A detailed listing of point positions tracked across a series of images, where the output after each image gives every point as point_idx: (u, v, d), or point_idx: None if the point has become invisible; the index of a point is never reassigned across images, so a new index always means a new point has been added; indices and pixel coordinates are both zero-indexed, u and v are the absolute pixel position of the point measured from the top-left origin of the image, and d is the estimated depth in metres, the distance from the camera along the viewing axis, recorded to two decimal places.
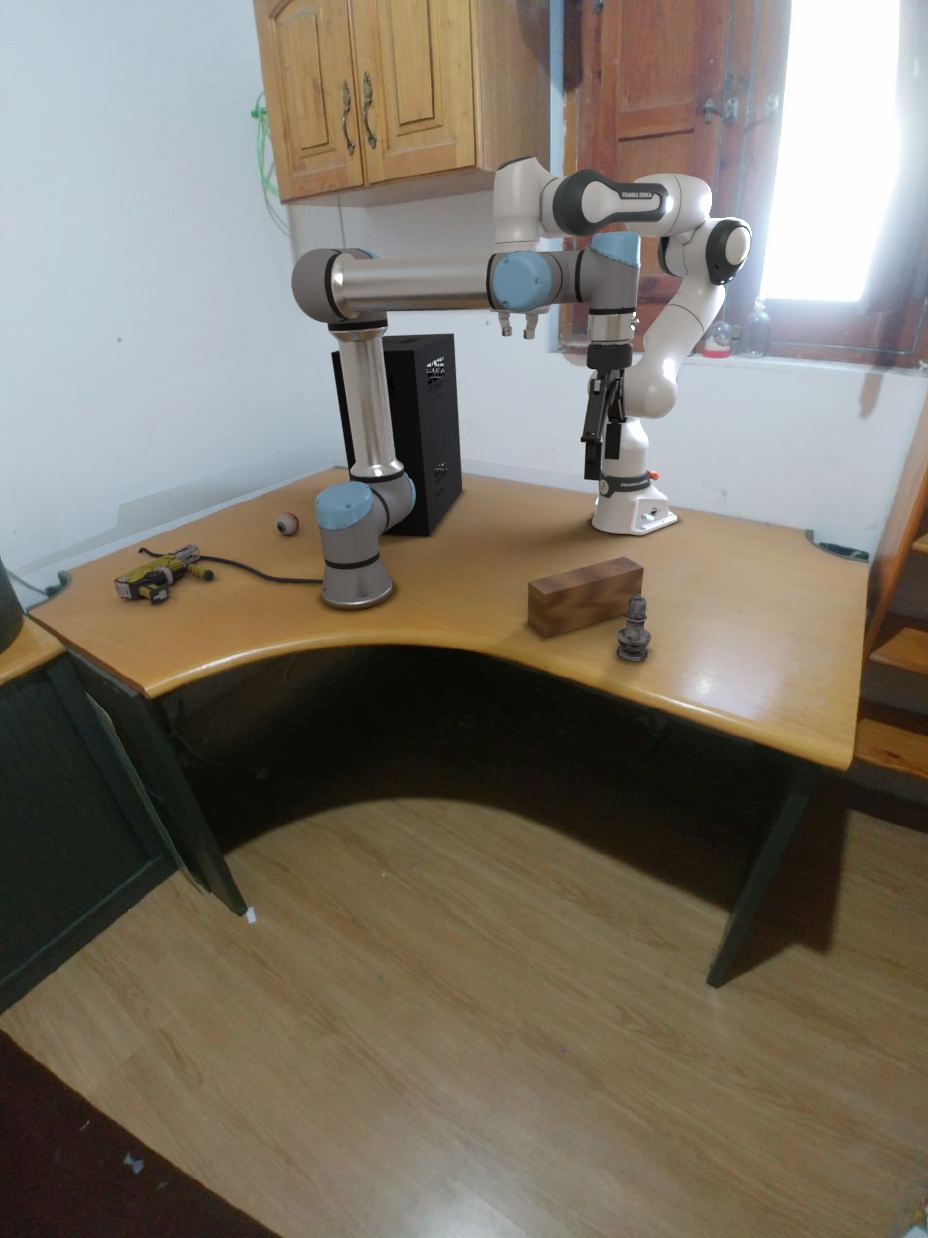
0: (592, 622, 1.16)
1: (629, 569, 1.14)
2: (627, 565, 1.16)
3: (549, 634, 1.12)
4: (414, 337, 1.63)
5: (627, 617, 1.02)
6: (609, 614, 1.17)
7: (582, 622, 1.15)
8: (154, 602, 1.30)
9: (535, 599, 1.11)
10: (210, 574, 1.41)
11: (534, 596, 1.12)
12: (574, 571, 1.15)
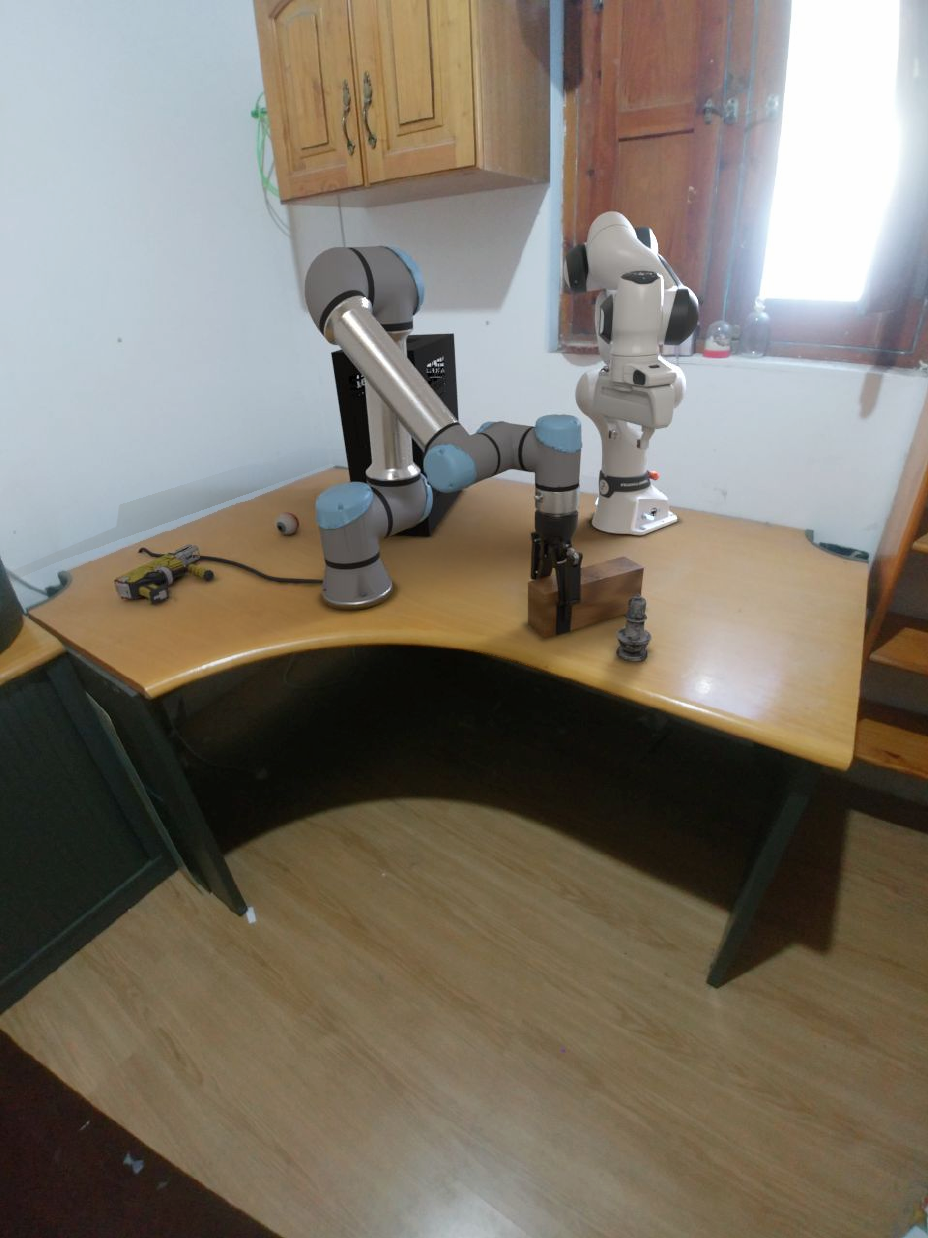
0: (592, 622, 1.16)
1: (629, 569, 1.14)
2: (627, 565, 1.16)
3: (549, 634, 1.12)
4: (414, 337, 1.63)
5: (627, 617, 1.02)
6: (609, 614, 1.17)
7: (582, 622, 1.15)
8: (154, 602, 1.30)
9: (535, 599, 1.11)
10: (210, 574, 1.41)
11: (534, 596, 1.12)
12: None
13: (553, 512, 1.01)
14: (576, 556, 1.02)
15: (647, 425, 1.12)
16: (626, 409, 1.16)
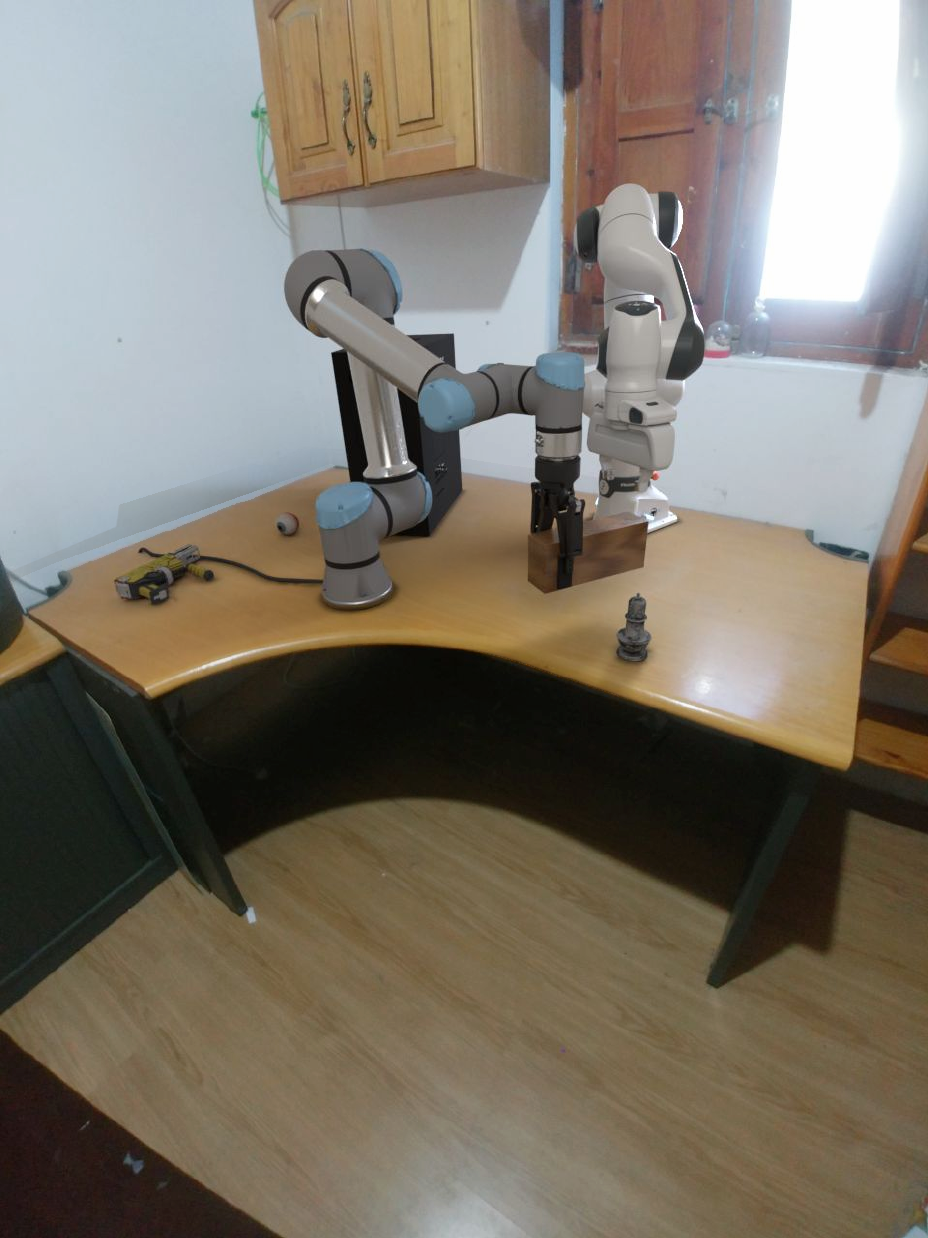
0: (594, 578, 1.11)
1: (634, 523, 1.10)
2: (631, 519, 1.11)
3: (550, 589, 1.08)
4: (414, 337, 1.63)
5: (627, 617, 1.02)
6: (613, 570, 1.12)
7: (584, 578, 1.10)
8: (154, 602, 1.30)
9: (535, 552, 1.07)
10: (210, 574, 1.41)
11: (534, 549, 1.07)
12: None
13: (554, 456, 0.96)
14: (578, 503, 0.97)
15: (645, 467, 1.02)
16: (622, 449, 1.06)
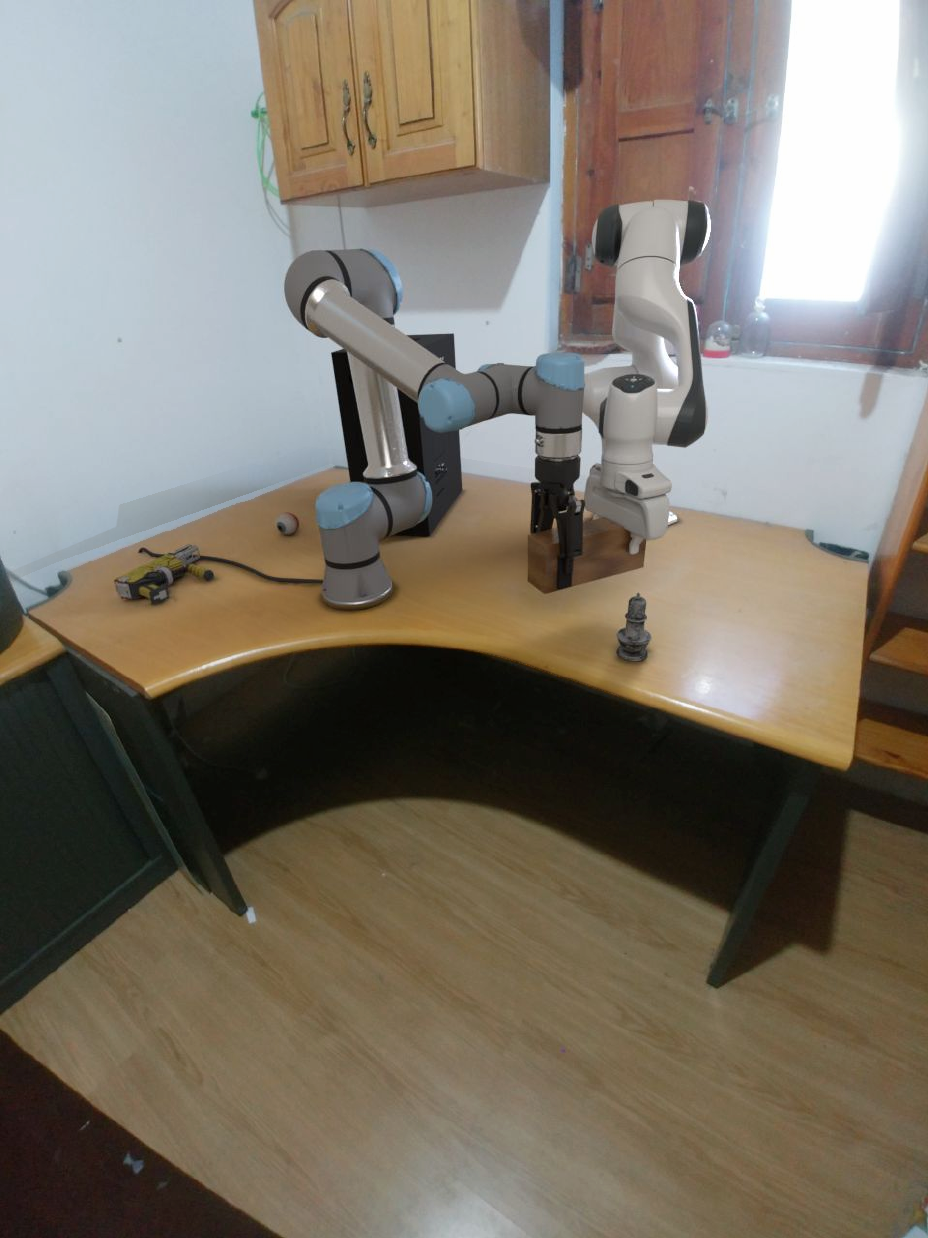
0: (594, 578, 1.11)
1: None
2: None
3: (549, 589, 1.08)
4: (414, 337, 1.63)
5: (627, 617, 1.02)
6: (612, 570, 1.12)
7: (584, 578, 1.10)
8: (154, 602, 1.30)
9: (535, 552, 1.07)
10: (210, 574, 1.41)
11: (534, 550, 1.07)
12: None
13: (554, 456, 0.96)
14: (578, 503, 0.97)
15: (640, 535, 1.05)
16: (618, 514, 1.09)
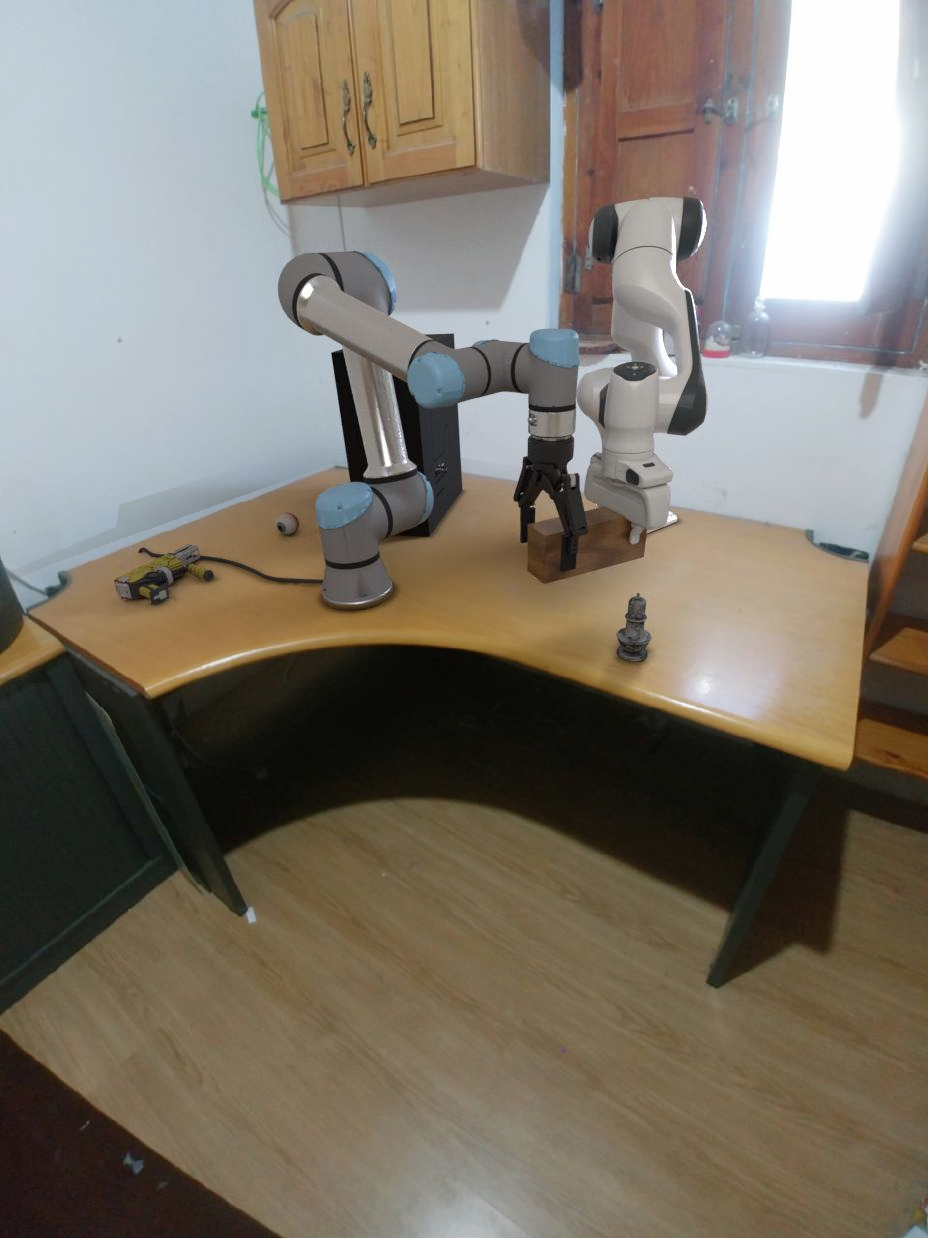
0: (594, 568, 1.11)
1: None
2: None
3: (549, 579, 1.07)
4: None
5: (627, 617, 1.02)
6: (613, 560, 1.12)
7: (584, 568, 1.09)
8: (154, 602, 1.30)
9: (535, 542, 1.06)
10: (210, 574, 1.41)
11: (533, 539, 1.06)
12: None
13: (547, 435, 0.94)
14: (571, 475, 0.95)
15: (641, 525, 1.04)
16: (619, 504, 1.08)
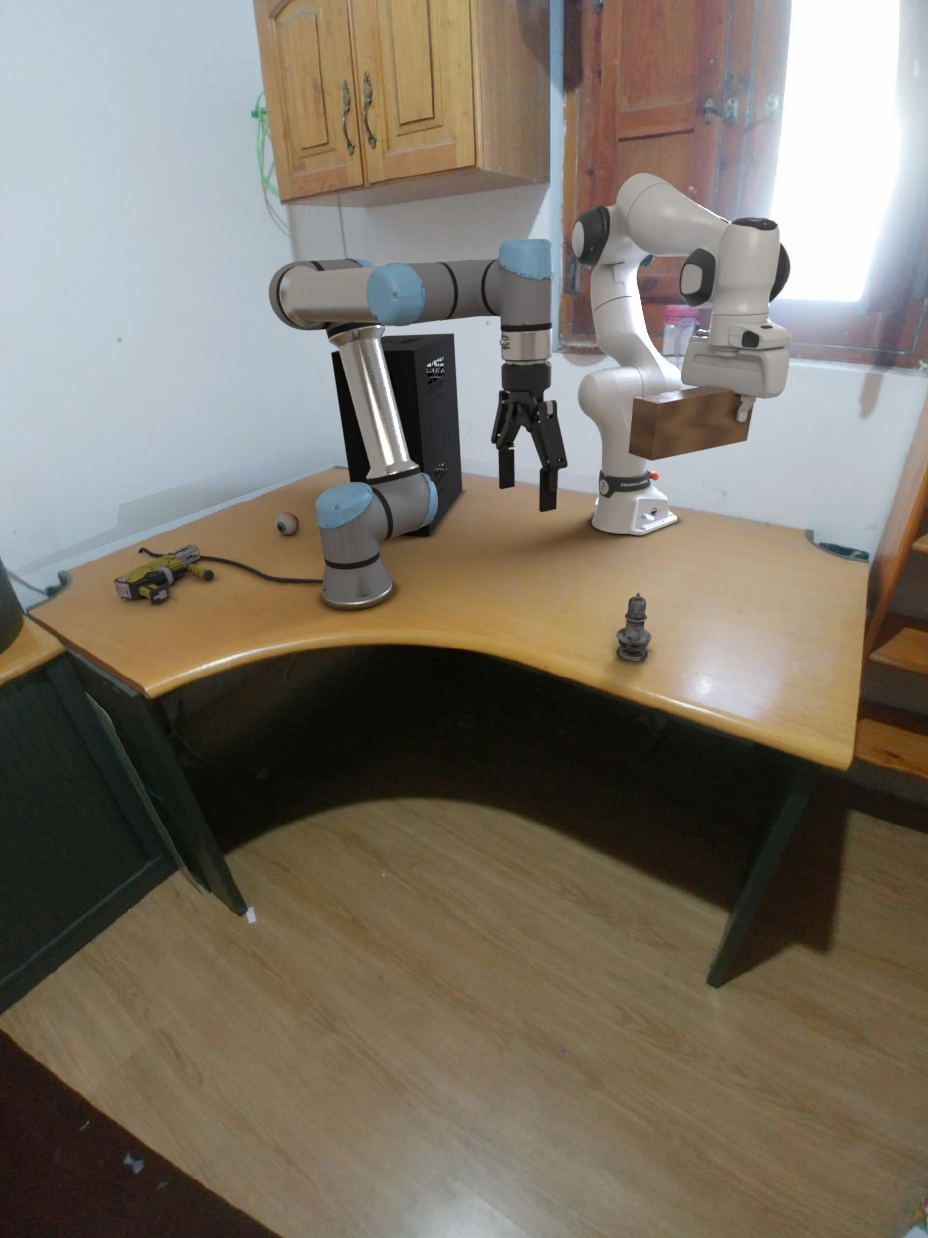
0: (700, 448, 1.05)
1: None
2: None
3: (657, 456, 1.02)
4: (414, 337, 1.63)
5: (627, 617, 1.02)
6: (718, 441, 1.06)
7: (690, 446, 1.04)
8: (154, 602, 1.30)
9: (643, 414, 1.00)
10: (210, 574, 1.41)
11: (641, 413, 1.01)
12: (681, 390, 1.04)
13: (521, 358, 0.86)
14: (548, 401, 0.87)
15: (755, 394, 0.99)
16: (727, 378, 1.03)
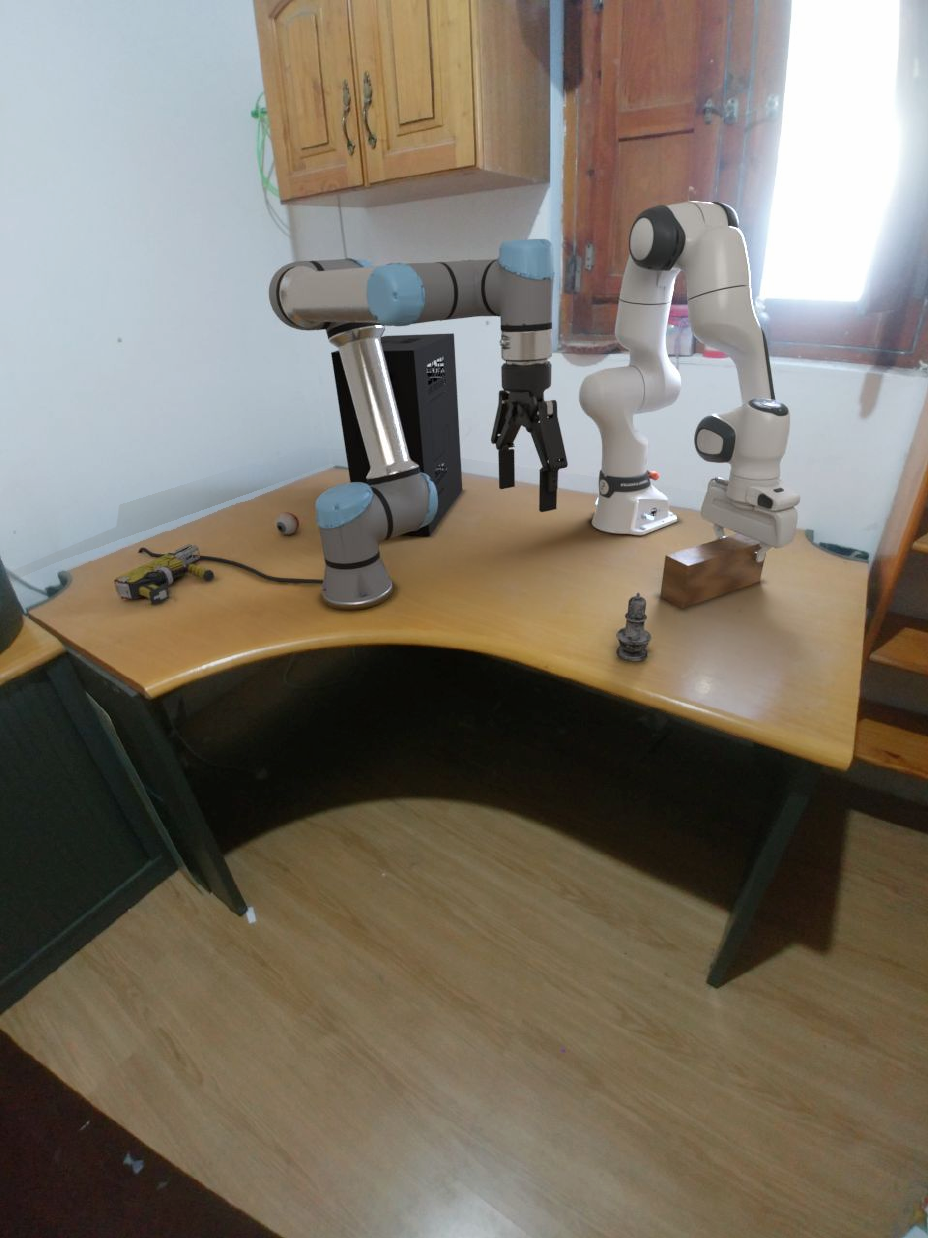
0: (721, 593, 1.23)
1: (756, 542, 1.22)
2: (752, 539, 1.24)
3: (686, 604, 1.19)
4: (414, 337, 1.63)
5: (627, 617, 1.02)
6: (736, 585, 1.24)
7: (713, 593, 1.22)
8: (154, 602, 1.30)
9: (674, 571, 1.18)
10: (210, 574, 1.41)
11: (672, 569, 1.19)
12: (704, 545, 1.22)
13: (521, 358, 0.86)
14: (548, 401, 0.87)
15: (769, 543, 1.16)
16: (743, 524, 1.20)
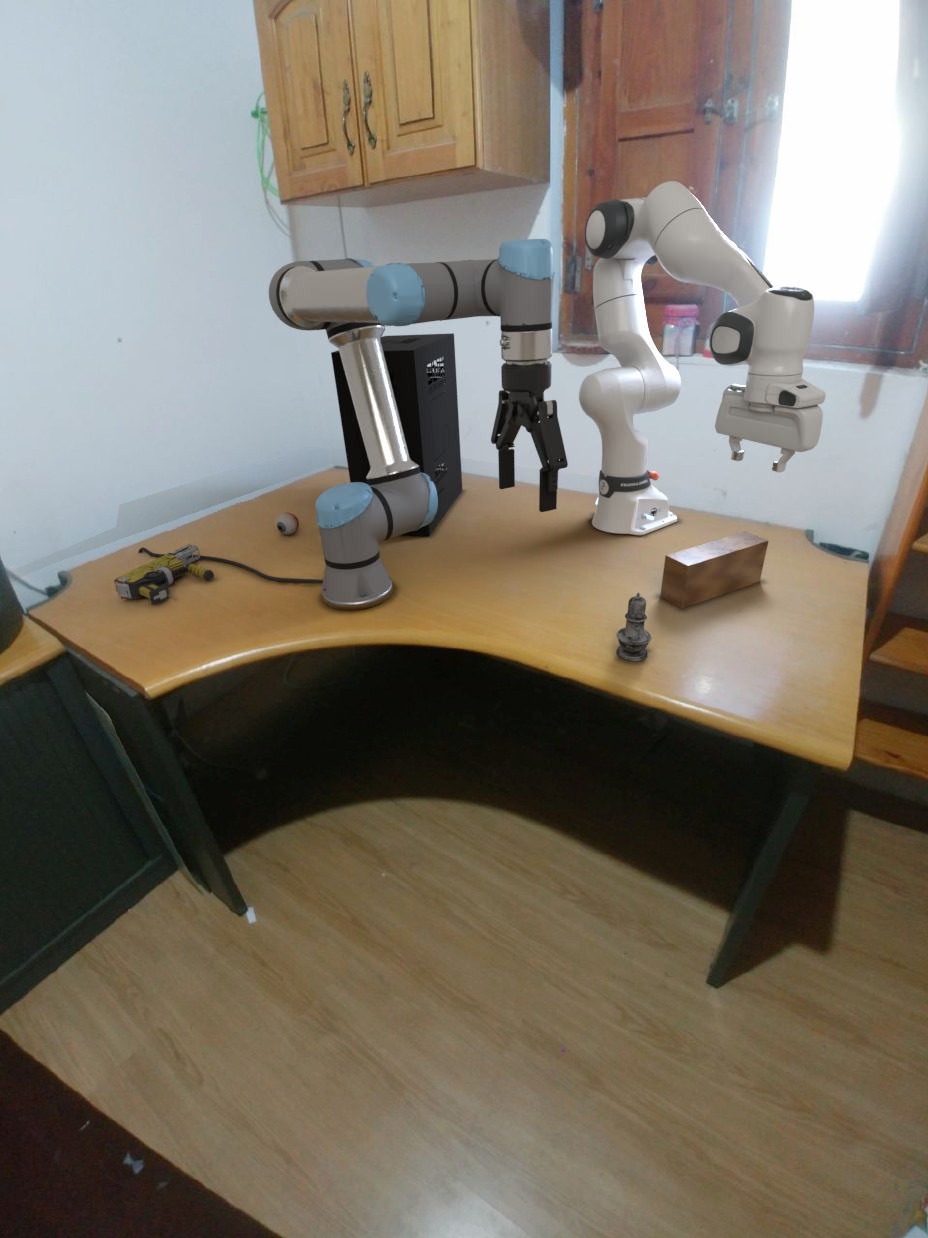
0: (721, 593, 1.23)
1: (756, 542, 1.22)
2: (752, 539, 1.24)
3: (686, 604, 1.19)
4: (414, 337, 1.63)
5: (627, 617, 1.02)
6: (736, 585, 1.24)
7: (713, 593, 1.22)
8: (154, 602, 1.30)
9: (674, 571, 1.18)
10: (210, 574, 1.41)
11: (672, 569, 1.19)
12: (704, 545, 1.22)
13: (521, 358, 0.86)
14: (548, 401, 0.87)
15: (791, 448, 1.06)
16: (762, 431, 1.10)
